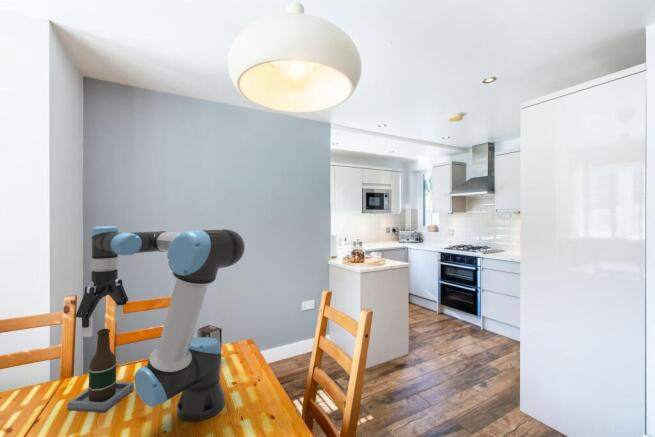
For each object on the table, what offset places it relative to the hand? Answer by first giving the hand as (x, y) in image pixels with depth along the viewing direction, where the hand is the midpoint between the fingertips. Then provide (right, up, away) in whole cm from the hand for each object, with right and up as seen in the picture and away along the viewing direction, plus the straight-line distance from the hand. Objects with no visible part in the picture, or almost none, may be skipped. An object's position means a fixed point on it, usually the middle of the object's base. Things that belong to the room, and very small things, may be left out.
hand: (104, 329), depth 107 cm
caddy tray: (-1, -25, 0) cm, 25 cm away
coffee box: (+27, -26, +26) cm, 46 cm away
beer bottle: (-1, -25, 0) cm, 25 cm away
